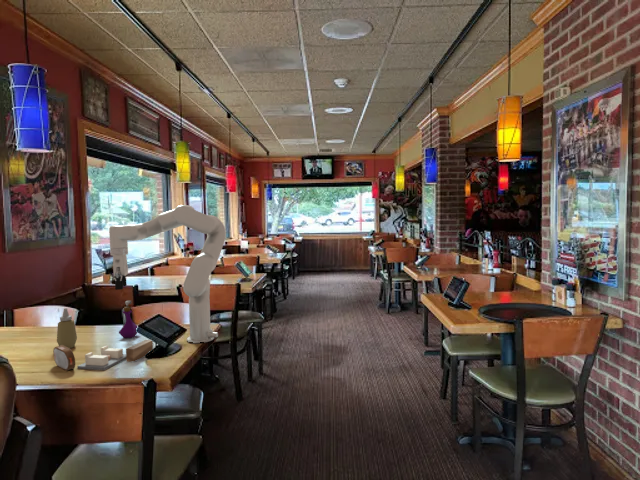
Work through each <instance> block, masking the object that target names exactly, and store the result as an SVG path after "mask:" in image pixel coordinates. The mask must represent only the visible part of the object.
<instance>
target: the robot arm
mask: <svg viewBox="0 0 640 480" xmlns="http://www.w3.org/2000/svg"><path fill="white" fill-rule="evenodd" d="M183 226H184V227H187V228H189V229H192V230H194V231H196V232H198V233H201V234H205V235H207V237H206V239H205V240H204V243H203V246H202V248H201V250H200V254H198V255H196V256H195V257H194V258H193V259H192V262H191V264H190V266H189V269H188V272H187V274H186V277H185V279H184V282H183V286H182V287H183V293H185V295H186V296H187V297H188V318H189V336H188V337H187V338H186V342H187V341H188V342H187V343H189V342H193V343H192V344H201V343H200V342H204V343H208V342H211V341H213V340H214V339H215V338H218V337H219V333H218V332H219V331H217V332H215V331H213V328H211V306H210V305H211V304H210V300H211V299H210V296H211V295H210V294H211V281H210V279H209V278H210V275H211V273H212V272H213V271H214V270H215V269H216V266H217V264H218V261H219V258H220V255H221V252H222V250H223V247H224V244H225V240H226V236H227V234H226V233H227V231H226V227H225V225H224V223H223V222H222V220H220V219H219V218H218V217H217V216H215V215H211V214H205V213H203V212H201V211H198V210H195V208H194V207H193V206H192V205H188V204H180V205H177V206H176V207H175V208H174V209H172V210H167V211H165V212H162V213H159V214H158V215H157V216H155V218H153V219H151V220H148V221H145V222H142V223H137V224H135V223H133V224H127V225H124V224H123V225H122V224H121V225H111V226H109V229H108V231H109V234H108V235H109V249H110V250H109V251H110V252H109V254H110V256H112V268H113V269H112V270H113V276H114V288H115V291H118V290H119V291H121V290H123V289H124V287H127V275H128V274H129V268H128V256H127V255H129V248H128V247H129V246H128V242H129V241H130V242H131V241H132V242H135V241H141V240H144V239H147V238H151V237H153V236H154V237H155V236H156V235H158V234H159V235H160V234H161V233H166V232H168V231H170V230H173V229H177V228H179V227H183Z"/></svg>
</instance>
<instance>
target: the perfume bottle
mask: <svg viewBox="0 0 640 480" xmlns="http://www.w3.org/2000/svg"><path fill="white" fill-rule="evenodd" d="M124 304H125V305H126V307H123V311H122V313H123V314H124V315H125V323H124V325H123V326H122V327H121V329H120V330H119V331H118V334H119V335H120V336H121V337H123V339H133V338H134V337H136V336H137V334H138V333H137V332H136V328H137V326H138V325H137V324H136V323H135V322H133V320H132V318H131V313H133V311H132V310H131V308H130V307H129V305H131V304H132V300H126V301H125V302H124ZM135 335H136V336H135ZM132 337H133V338H132Z"/></svg>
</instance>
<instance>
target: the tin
mask: <svg viewBox="0 0 640 480" xmlns="http://www.w3.org/2000/svg"><path fill="white" fill-rule="evenodd" d="M53 359H54V362H55V364H56V366H57V367H58V368H60V369H62V370H64V371H70V370H74V369H75V368H76V358H75V354H74V352H73V350H72V348H68V347H65V346H63V345H60V346H59V345H57V346H56V347H54V348H53Z"/></svg>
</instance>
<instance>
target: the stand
mask: <svg viewBox="0 0 640 480" xmlns="http://www.w3.org/2000/svg"><path fill="white" fill-rule="evenodd" d="M123 351H124V350H123V348H111V347H109V346H108V345H104V346H102V347H100V354H94V353H93V352H92V351H91V352H88V353H85V355H84V359H85V361H84V363H81V364H79V365H77V367H76V368H77V369H79V370H94V371H106V370H107V369H109V368H112V367H114V366H115V365H117V364H119V363H122V362H123V361H126V353H124V352H123Z"/></svg>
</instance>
